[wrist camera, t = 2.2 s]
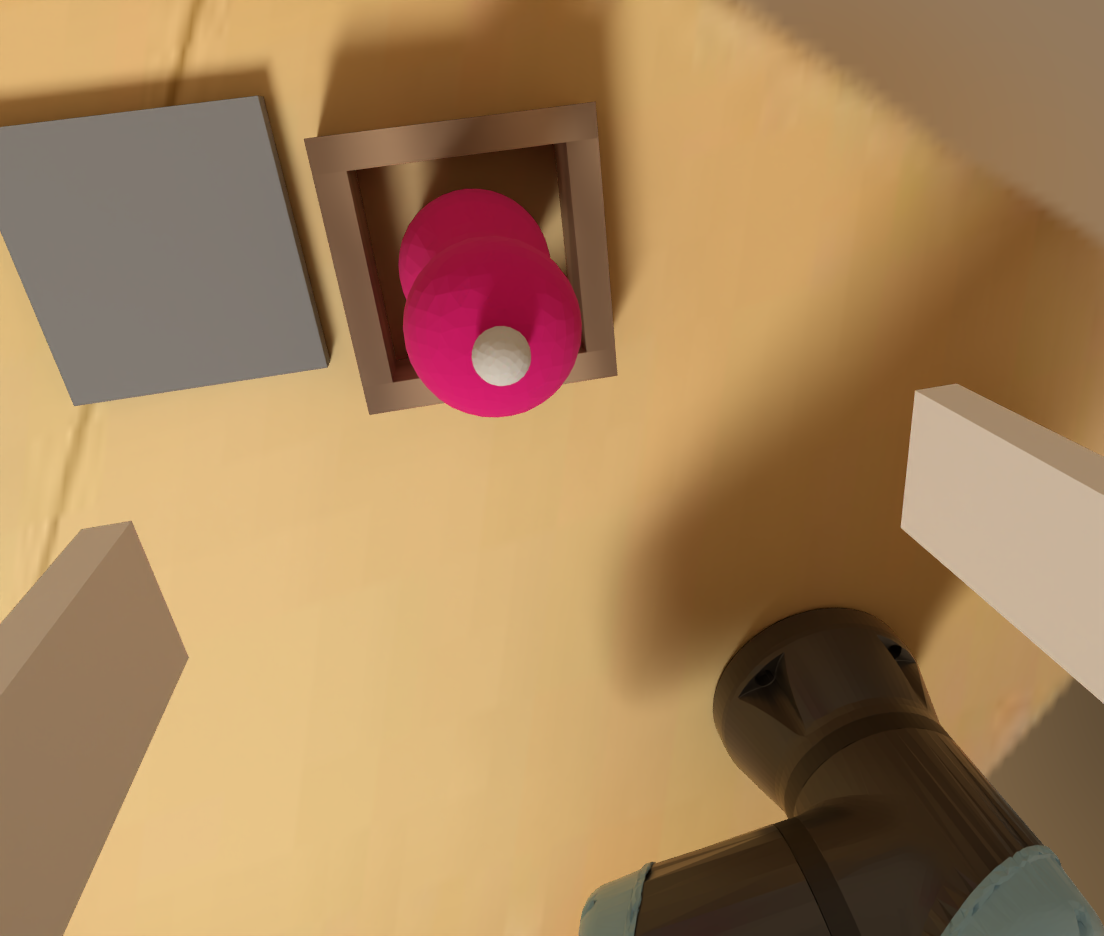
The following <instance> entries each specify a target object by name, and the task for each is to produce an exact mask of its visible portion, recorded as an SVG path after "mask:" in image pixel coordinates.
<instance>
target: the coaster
mask: <svg viewBox="0 0 1104 936" xmlns="http://www.w3.org/2000/svg"><path fill="white" fill-rule="evenodd" d="M0 231H1V234H2V236H3V238H4V241H5V243H6V246H7V248H8V250H9V253H10V255H11V257H12V260H13V262H14V265H15V267H16V269H17V272H18V274H19V276H20V279H21V281H22V284H23V286H24V288H25V291H26V293H27V295H28V298H29V300H30V302H31V305H32V307H33V310H34V312H35V314H36V317H37V319H38V321H39V324H40V326H41V329H42V331H43V333H44V336H45V338H46V340H47V343H48V345H49V348H50V350H51V352H52V355H53V357H54V359H55V362H56V364H57V367H58V369H59V371H60V374H61V376H62V378H63V381H64V383H65V386H66V388H67V390H68V393H69V395H70V397H71V400H72V402H73V405H74V406H78V405H85V404H92V403H98V402H105V401H111V400H118V399H124V398H131V397H137V396H144V395H151V394H157V393H164V392H170V391H177V390H183V389H190V388H196V387H203V386H210V385H216V384H223V383H229V382H236V381H242V380H249V379H255V378H262V377H269V376H275V375H282V374H288V373H295V372H301V371H308V370H314V369H321V368H327V367H328V365H329V363H330V358H329V354H328V350H327V346H326V342H325V338H324V335H323V331H322V327H321V323H320V319H319V315H318V311H317V307H316V303H315V299H314V295H313V291H312V287H311V283H310V279H309V275H308V272H307V268H306V264H305V260H304V256H303V252H302V248H301V244H300V240H299V236H298V232H297V228H296V224H295V220H294V216H293V212H292V209H291V205H290V201H289V197H288V193H287V189H286V185H285V181H284V177H283V173H282V169H281V165H280V161H279V157H278V153H277V149H276V145H275V142H274V138H273V134H272V130H271V126H270V122H269V118H268V114H267V110H266V106H265V102H264V98H263V97H262V96H252V97H243V98H235V99H227V100H219V101H211V102H202V103H194V104H186V105H178V106H169V107H161V108H153V109H145V110H137V111H128V112H120V113H112V114H104V115H96V116H87V117H79V118H71V119H63V120H55V121H46V122H38V123H30V124H22V125H14V126H5V127H0Z"/></svg>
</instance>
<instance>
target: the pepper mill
mask: <svg viewBox="0 0 1104 936" xmlns="http://www.w3.org/2000/svg"><path fill="white" fill-rule="evenodd" d="M398 265H399V277H400V281H401V285H402V289H403V293H404V295H405V298H406V300H407V301H406V304H405V308H404V318H403V333H404V339H405V346H406V350H407V353H408V356H409V359H410V362H411V364H412V366H413V368H414V370H415V371H416V373H417V375H418V377H419V378H420V379H421V381H422V382H423V383H424V384H425V386H426V387H427V388H428V389H429V390H430V391H431V392H432V393H433V394H434V395H435V396H436V397H437V398H438V399H440V400H441V401H443V402H444V403H446V404H448V405H449V406H451V407H453V408H455V409H458V410H460V411H463V412H465V413H468V414H472V415H477V416H481V417H504V416H512V415H516V414H520V413H523V412H526V411H528V410H530V409H532V408H534V407H536V406H538V405H539V404H541V403H543V402H544V401H546V400H547V399H548V398H549V397H551V396H552V395H553V394H554V393H555V392H556V391H557V390H558V389H559V388H560V387H561V385H562V384H563V383H564V381H565V380H566V379H567V377H568V376H569V374H570V372H571V370H572V369H573V367H574V364H575V361H576V358H577V355H578V352H579V348H580V345H581V333H582V321H581V312H580V308H579V303H578V300H577V297H576V295H575V293H574V290H573V288H572V286H571V284H570V282H569V280H568V278H567V277H566V276H565V275H564V273H563V272H562V271H561V270H560V268H559V267H558V266H557V264H556V263H555V262H554V261H553V260H551V259H550V254H549V250H548V247H547V244H546V240H545V238H544V236H543V234H542V232H541V229H540V227H539V226H538V224H537V223H536V222H535V220H534V219H533V217H532V216H531V215H530V214H529V213H528V212H527V211H526V210H525V209H524V208H523V207H522V206H520V205H519V204H518V203H517V202H515V201H514V200H512V199H510V198H508V197H506V196H505V195H502V194H500V193H497V192H494V191H490V190H484V189H462V190H456V191H452V192H449V193H446V194H444V195H441V196H440V197H438V198H436V199H434V200H433V201H431V202H429V203H428V204H427V205H426V206H425V207H424V208H423V209H422V210H420V211H419V212H418V213H417V215H416V216H415V217H414V219H413V220H412V222H411V223H410V224H409V226H408V228H407V230H406V232H405V235H404V237H403V239H402V243H401V247H400V251H399V262H398Z"/></svg>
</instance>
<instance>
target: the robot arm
mask: <svg viewBox="0 0 1104 936" xmlns="http://www.w3.org/2000/svg"><path fill="white" fill-rule="evenodd" d="M901 528H902V529H903V530H904V531H905V532H906V533H907V534H909V535H910V536H911V537H912V538H913V539H914V540H916V541H917V542H918V543H919V544H920V545H921V546H922V547H924V548H925V549H926V550H927V551H928V552H929V553H931V554H932V555H933V556H934V557H935V558H936V559H937V560H939V561H940V562H941V563H942V564H943V565H944V566H946V567H947V568H948V569H949V570H950V571H951V572H952V573H954V574H955V575H956V576H957V577H958V578H959V579H961V580H962V581H963V582H964V583H965V584H966V585H968V586H969V587H970V588H971V589H972V590H973V591H974V592H976V593H977V594H978V595H979V596H980V597H981V598H983V599H984V600H985V601H986V602H987V603H988V604H989V605H991V606H992V607H993V608H994V609H995V610H996V611H998V612H999V613H1000V614H1001V615H1002V616H1003V617H1004V618H1006V619H1007V620H1008V621H1009V622H1010V623H1011V624H1013V625H1014V626H1015V627H1016V628H1017V629H1018V630H1019V631H1021V632H1022V633H1023V634H1024V635H1025V636H1026V637H1028V638H1029V639H1030V640H1031V641H1032V642H1033V643H1034V644H1036V645H1037V646H1038V647H1039V648H1040V649H1041V650H1043V651H1044V652H1045V653H1046V654H1047V655H1048V656H1050V657H1051V658H1052V659H1053V660H1054V661H1055V662H1056V663H1058V664H1059V665H1060V666H1061V667H1062V668H1063V669H1065V670H1066V671H1067V672H1068V673H1069V674H1070V675H1071V676H1073V677H1074V678H1075V679H1076V680H1077V681H1078V682H1080V683H1081V684H1082V685H1083V686H1084V687H1085V688H1087V689H1088V690H1089V691H1090V692H1091V693H1092V694H1093V695H1095V696H1096V697H1097V698H1098V699H1099V700H1101V701H1102V702H1103V703H1104V457H1103V456H1101V455H1099V454H1097V453H1095V452H1093V451H1091V450H1089V449H1087V448H1085V447H1083V446H1081V445H1079V444H1077V443H1075V442H1073V441H1071V440H1069V439H1067V438H1065V437H1063V436H1061V435H1059V434H1057V433H1055V432H1053V431H1051V430H1049V429H1047V428H1045V427H1043V426H1041V425H1039V424H1037V423H1035V422H1033V421H1031V420H1029V419H1027V418H1025V417H1023V416H1021V415H1019V414H1017V413H1015V412H1013V411H1011V410H1009V409H1007V408H1005V407H1003V406H1001V405H999V404H997V403H995V402H993V401H991V400H989V399H987V398H985V397H983V396H981V395H979V394H977V393H975V392H973V391H971V390H969V389H967V388H965V387H963V386H961V385H959V384H951V385H945V386H939V387H933V388H927V389H921V390H915V396H914V406H913V415H912V425H911V434H910V444H909V453H908V463H907V472H906V481H905V491H904V500H903V510H902V519H901ZM188 658H189V657H188V655H187V652H186V650H185V647H184V645H183V643H182V640H181V638H180V635H179V633H178V631H177V628H176V626H175V624H174V621H173V619H172V616H171V614H170V612H169V609H168V607H167V604H166V602H165V600H164V597H163V595H162V592H161V590H160V588H159V585H158V583H157V580H156V578H155V576H154V573H153V571H152V569H151V566H150V564H149V561H148V559H147V557H146V554H145V552H144V549H143V547H142V545H141V542H140V540H139V537H138V535H137V533H136V530H135V528H134V525H133V523H132V521H128V522H122V523H116V524H110V525H104V526H98V527H92V528H86V529H81V530H80V531H79V533H78V534H77V535H76V536H75V537H74V538H73V540H72V541H71V542H70V543H69V544H68V545H67V547H66V548H65V549H64V550H63V551H62V552H61V554H60V555H59V556H58V557H57V558H56V559H55V561H54V562H53V563H52V564H51V565H50V566H49V568H48V569H47V570H46V571H45V572H44V573H43V575H42V576H41V577H40V578H39V579H38V580H37V582H36V583H35V584H34V585H33V586H32V587H31V589H30V590H29V591H28V592H27V593H26V594H25V596H24V597H23V598H22V599H21V600H20V601H19V603H18V604H17V605H16V606H15V607H14V608H13V610H12V611H11V612H10V613H9V614H8V615H7V617H6V618H5V619H4V620H3V621H2V622H1V624H0V936H63V934H64V932H65V930H66V928H67V925H68V923H69V921H70V919H71V916H72V914H73V912H74V910H75V908H76V905H77V903H78V901H79V899H80V897H81V894H82V892H83V890H84V888H85V886H86V883H87V881H88V879H89V877H90V874H91V872H92V870H93V868H94V866H95V863H96V861H97V859H98V857H99V855H100V852H101V850H102V848H103V846H104V844H105V841H106V839H107V837H108V835H109V832H110V830H111V828H112V826H113V824H114V821H115V819H116V817H117V815H118V813H119V810H120V808H121V806H122V804H123V802H124V799H125V797H126V795H127V793H128V790H129V788H130V786H131V784H132V782H133V779H134V777H135V775H136V773H137V771H138V768H139V766H140V764H141V762H142V760H143V757H144V755H145V753H146V751H147V748H148V746H149V744H150V742H151V740H152V737H153V735H154V733H155V731H156V729H157V726H158V724H159V722H160V720H161V718H162V715H163V713H164V711H165V709H166V706H167V704H168V702H169V700H170V698H171V695H172V693H173V691H174V689H175V687H176V684H177V682H178V680H179V678H180V676H181V673H182V671H183V669H184V667H185V665H186V662H187V660H188ZM713 717H714V722H715V726H716V729H717V731H718V733H719V735H720V738H721V740H722V742H723V744H724V746H725V748H726V750H727V752H728V754H729V756H730V757H731V759H732V760H733V761H734V763H735V764H736V765H737V766H738V768H739V769H741V770H742V771H743V772H744V773H745V774H746V775H747V776H748V777H749V778H750V779H751V780H752V781H753V782H754V783H755V784H756V785H757V786H758V787H759V788H760V789H761V790H762V791H763V792H764V793H765V794H766V795H767V796H768V797H770V798H771V799H772V800H773V801H774V802H775V803H776V804H777V805H778V806H779V807H780V808H781V809H782V810H783V811H784V812H785V813H786V815H787V817H788V819H787V820H784V821H781V822H778V823H775V824H771V825H768V826H765V827H762V828H759V829H757V830H754V831H751V832H748V833H745V834H742V835H739V836H736V837H734V838H731V839H728V840H725V841H722V842H719V843H716V844H714V845H711V846H708V847H705V848H702V849H699V850H696V851H693V852H690V853H687V854H683V855H680V856H677V857H674V858H671V859H668V860H665V861H662V862H659V863H656V862H650V863H647V864H645V865H644V866H643V867H642V868H641V869H640V870H638V871H636V872H633V873H631V874H629V875H626V876H624V877H622V878H619V879H617V880H614V881H612V882H609V883H607V884H604V885H602V886H600V887H599V888H597V889H596V890H595V891H594V892H593V893H592V894H591V895H590V897H589V898H588V900H587V902H586V904H585V906H584V908H583V911H582V916H581V920H580V927H579V936H1104V927H1103V925H1102V923H1101V921H1100V919H1099V917H1098V916H1097V914H1096V913H1095V911H1094V910H1093V908H1092V907H1091V906H1090V904H1089V903H1088V902H1087V900H1086V899H1085V898H1084V897H1083V895H1082V894H1081V893H1080V892H1079V890H1078V889H1077V887H1076V886H1075V885H1074V883H1073V882H1072V881H1071V879H1070V878H1069V877H1068V876H1067V874H1066V873H1065V872H1064V870H1063V868H1062V867H1061V864H1060V861H1059V859H1058V857H1057V856H1056V855H1055V854H1054V853H1053V852H1052V851H1051V849H1050V848H1048V847H1047V846H1044V845H1043V844H1042V842H1041V841H1040V840H1039V839H1038V838H1037V837H1036V836H1035V834H1034V833H1033V832H1032V831H1031V830H1030V829H1029V828H1028V826H1027V825H1026V824H1025V823H1024V822H1023V820H1022V819H1021V818H1020V817H1019V816H1018V815H1017V814H1016V812H1015V811H1014V810H1013V809H1012V808H1011V807H1010V805H1009V804H1008V803H1007V802H1006V801H1005V800H1004V798H1003V797H1002V796H1001V795H1000V794H999V793H998V792H997V790H996V789H995V788H994V787H993V786H992V785H991V784H990V782H989V781H988V780H987V779H986V778H985V776H984V775H983V774H982V773H981V772H980V771H979V769H978V768H977V767H976V766H975V765H974V764H973V763H972V761H971V760H970V759H969V758H968V757H967V756H966V754H965V753H964V752H963V751H962V750H961V749H960V747H959V746H958V745H957V744H956V743H955V742H954V741H953V739H952V738H951V737H950V736H949V735H948V733H947V732H946V731H945V730H944V729H943V727H942V726H941V725H940V723H939V720H938V718H937V715H936V712H935V710H934V707H933V704H932V702H931V699H930V696H929V694H928V691H927V688H926V686H925V683H924V680H923V678H922V675H921V672H920V670H919V667H918V664H917V662H916V660H915V658H914V657H913V655H912V653H911V652H910V650H909V649H908V647H907V646H906V645H905V644H904V643H903V642H902V641H901V640H900V638H899V637H898V636H897V635H896V634H895V633H894V632H893V631H892V630H891V629H890V627H888V626H887V625H886V624H885V623H884V622H882V621H881V620H879V619H878V618H876V617H874V616H872V615H870V614H867V613H864V612H861V611H857V610H852V609H845V608H827V609H818V610H812V611H808V612H804V613H800V614H797V615H794V616H791V617H789V618H786V619H784V620H782V621H780V622H778V623H776V624H774V625H772V626H770V627H769V628H767V629H765V630H764V631H762V632H761V633H759V634H758V635H757V636H755V637H754V638H753V639H752V640H750V641H749V642H748V643H747V644H746V645H745V646H744V647H743V648H742V649H741V650H740V651H739V652H738V653H737V654H736V655H735V656H734V658H733V659H732V660H731V662H730V663H729V664H728V666H727V667H726V669H725V671H724V672H723V674H722V676H721V678H720V680H719V683H718V685H717V688H716V692H715V696H714V702H713Z"/></svg>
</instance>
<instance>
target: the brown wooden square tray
mask: <svg viewBox="0 0 1104 936" xmlns="http://www.w3.org/2000/svg"><path fill="white" fill-rule="evenodd" d="M304 142H305V146H306V150H307V154H308V159H309V163H310V167H311V171H312V175H313V180H314V184H315V188H316V192H317V196H318V201H319V205H320V209H321V213H322V217H323V222H324V226H325V230H326V234H327V238H328V243H329V247H330V251H331V255H332V259H333V264H334V268H335V272H336V276H337V280H338V285H339V289H340V293H341V297H342V301H343V306H344V310H345V314H346V318H347V323H348V327H349V331H350V335H351V339H352V344H353V348H354V352H355V356H356V360H357V365H358V369H359V373H360V377H361V381H362V386H363V390H364V394H365V398H366V402H367V407H368V411H369V415H372V414H378V413H384V412H391V411H397V410H403V409H409V408H416V407H422V406H428V405H435V404H441V403H444V402H443V401H441V400H440V399H438V398H437V397H436V396H435V395H434V394H433V393H432V392H431V391H430V390H429V389H428V388H427V387H426V386H425V384H424V383H423V382H422V381H421V379H420V378H419V377H418V375H417V373H416V371H415V370H414V368H413V366H412V364H411V362H410V359H409V358H406V359H400V360H396V357H395V352H394V347H393V343H392V338H391V333H390V329H389V324H388V319H387V315H386V310H385V305H384V301H383V296H382V291H381V286H380V282H379V277H378V272H377V268H376V263H375V258H374V254H373V249H372V244H371V240H370V235H369V230H368V226H367V221H366V216H365V212H364V207H363V202H362V198H361V193H360V188H359V184H358V179H357V174H356V170H358V169H366V168H373V167H381V166H388V165H396V164H404V163H411V162H419V161H426V160H434V159H442V158H449V157H457V156H465V155H472V154H480V153H487V152H495V151H503V150H510V149H518V148H525V147H533V146H541V145H548V144H554V150H555V159H556V169H557V179H558V188H559V198H560V207H561V217H562V227H563V236H564V246H565V255H566V265H567V275H568V280H569V282H570V284H571V286H572V288H573V290H574V293H575V295H576V297H577V300H578V303H579V308H580V312H581V321H582V333H581V345H580V348H579V352H578V355H577V358H576V361H575V364H574V367H573V369H572V370H571V372H570V374H569V376H568V377H567V379H566V380H565V381H564V383H563V384H567V383H574V382H580V381H586V380H592V379H599V378H605V377H611V376H617V364H616V352H615V339H614V327H613V314H612V302H611V289H610V277H609V264H608V252H607V239H606V227H605V214H604V202H603V189H602V177H601V164H600V152H599V139H598V127H597V114H596V102H589V103H582V104H574V105H566V106H558V107H550V108H542V109H534V110H526V111H519V112H511V113H503V114H495V115H487V116H479V117H471V118H464V119H456V120H448V121H440V122H432V123H424V124H416V125H409V126H401V127H393V128H385V129H377V130H369V131H361V132H353V133H346V134H338V135H330V136H322V137H314V138H306V139H304Z"/></svg>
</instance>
